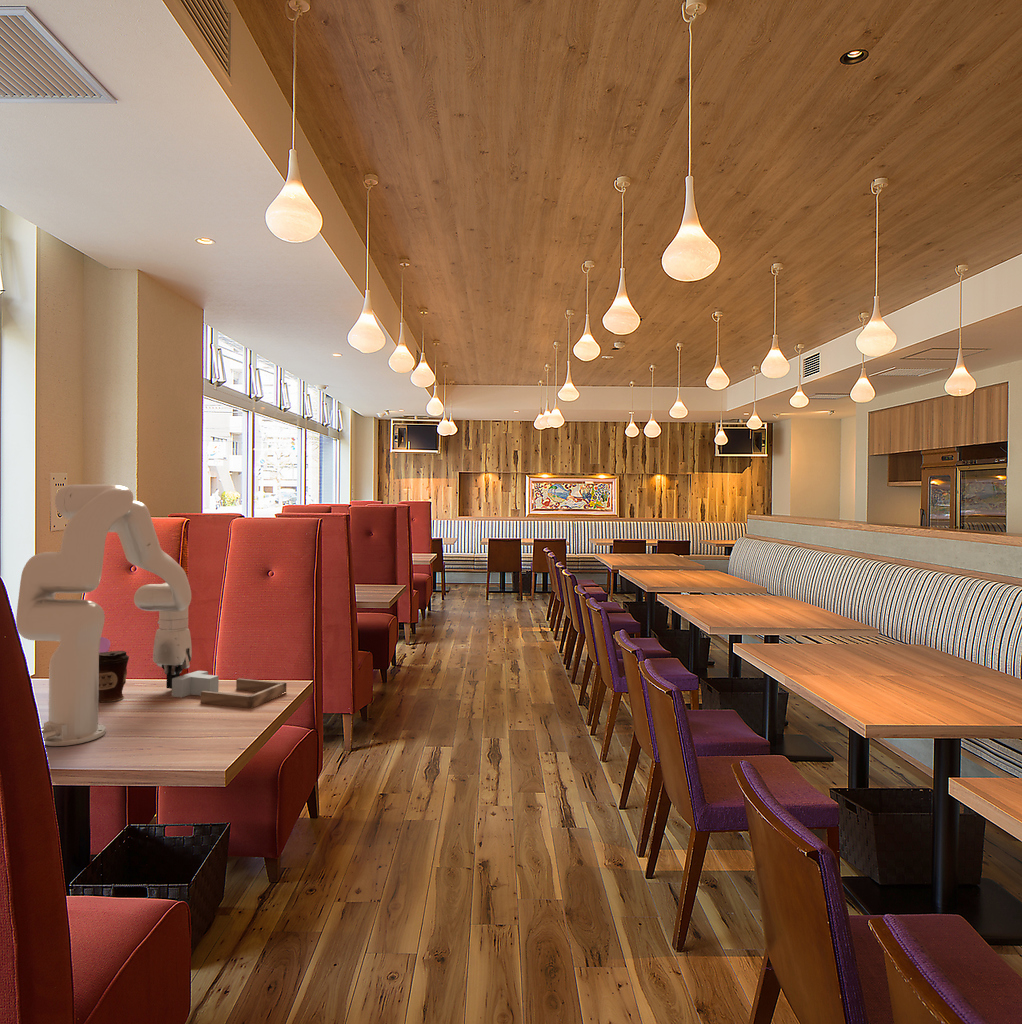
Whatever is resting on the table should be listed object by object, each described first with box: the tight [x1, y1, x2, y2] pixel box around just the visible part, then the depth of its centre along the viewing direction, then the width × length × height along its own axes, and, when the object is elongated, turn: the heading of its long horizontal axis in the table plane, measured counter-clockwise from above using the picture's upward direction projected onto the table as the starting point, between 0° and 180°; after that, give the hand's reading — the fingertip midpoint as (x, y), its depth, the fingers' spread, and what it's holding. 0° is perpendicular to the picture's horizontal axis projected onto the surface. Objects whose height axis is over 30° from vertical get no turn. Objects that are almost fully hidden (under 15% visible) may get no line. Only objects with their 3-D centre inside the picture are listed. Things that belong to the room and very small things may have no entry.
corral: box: [200, 677, 287, 709], centre depth 183 cm, size 15×16×3 cm
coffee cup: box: [98, 650, 130, 703], centre depth 180 cm, size 9×8×13 cm
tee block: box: [171, 670, 220, 698], centre depth 187 cm, size 10×10×5 cm
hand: (172, 687), depth 190 cm, fingers closed
